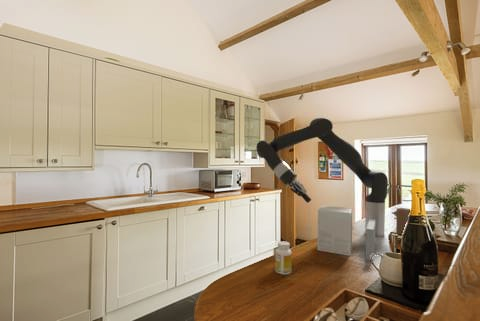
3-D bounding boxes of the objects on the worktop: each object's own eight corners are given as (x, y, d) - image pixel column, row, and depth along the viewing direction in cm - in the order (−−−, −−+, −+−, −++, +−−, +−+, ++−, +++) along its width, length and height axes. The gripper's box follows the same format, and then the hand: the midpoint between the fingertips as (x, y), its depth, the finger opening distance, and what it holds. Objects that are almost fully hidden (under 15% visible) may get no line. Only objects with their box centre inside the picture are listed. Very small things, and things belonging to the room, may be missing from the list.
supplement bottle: (292, 269, 88) (292, 241, 88) (290, 276, 83) (290, 246, 83) (276, 267, 90) (277, 239, 90) (273, 273, 85) (274, 244, 85)
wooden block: (423, 253, 108) (424, 210, 108) (419, 255, 105) (420, 211, 105) (399, 247, 114) (400, 207, 114) (395, 249, 112) (396, 208, 112)
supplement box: (352, 246, 114) (353, 207, 114) (350, 256, 102) (351, 212, 102) (321, 242, 120) (322, 205, 120) (316, 250, 108) (317, 209, 108)
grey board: (369, 244, 118) (369, 218, 118) (375, 245, 117) (375, 219, 117) (365, 259, 99) (366, 228, 99) (372, 260, 98) (373, 229, 98)
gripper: (285, 168, 116) (311, 197, 110) (294, 168, 127) (318, 194, 121) (274, 179, 118) (299, 208, 112) (284, 178, 130) (307, 204, 124)
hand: (309, 201), depth 117 cm, fingers closed
